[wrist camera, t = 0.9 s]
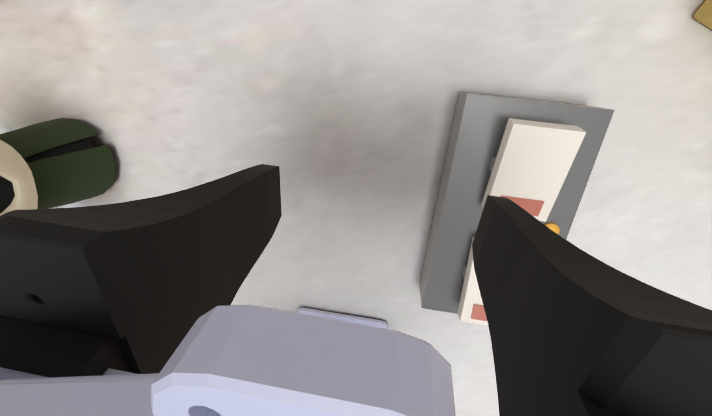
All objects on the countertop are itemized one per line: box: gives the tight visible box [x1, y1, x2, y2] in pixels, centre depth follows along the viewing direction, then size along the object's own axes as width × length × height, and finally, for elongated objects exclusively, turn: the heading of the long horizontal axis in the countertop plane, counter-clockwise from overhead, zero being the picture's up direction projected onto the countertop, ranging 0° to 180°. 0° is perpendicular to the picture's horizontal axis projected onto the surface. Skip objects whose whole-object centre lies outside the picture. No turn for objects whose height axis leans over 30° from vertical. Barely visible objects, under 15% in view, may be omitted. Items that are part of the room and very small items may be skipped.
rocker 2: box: [481, 118, 586, 222], centre depth 19 cm, size 6×4×1 cm, turn 174°
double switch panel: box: [420, 92, 614, 314], centre depth 23 cm, size 15×8×4 cm, turn 174°
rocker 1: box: [458, 237, 488, 326], centre depth 22 cm, size 6×4×1 cm, turn 175°
